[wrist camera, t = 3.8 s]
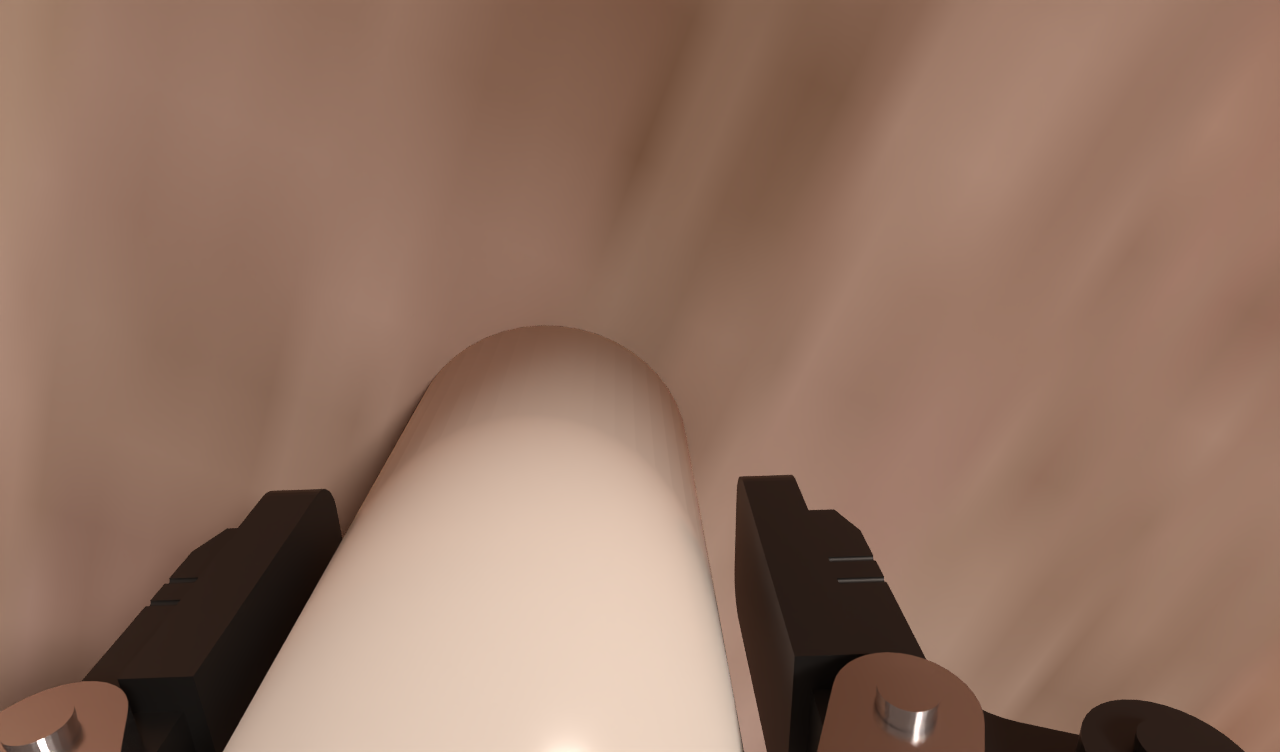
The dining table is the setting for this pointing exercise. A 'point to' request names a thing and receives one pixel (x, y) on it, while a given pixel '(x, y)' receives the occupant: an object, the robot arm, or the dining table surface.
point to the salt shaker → (516, 575)
